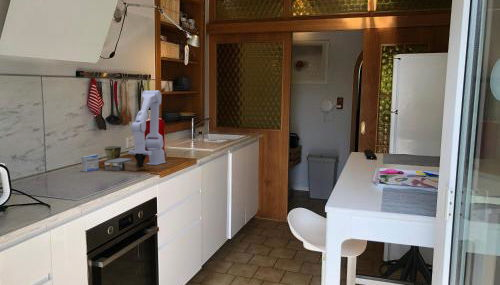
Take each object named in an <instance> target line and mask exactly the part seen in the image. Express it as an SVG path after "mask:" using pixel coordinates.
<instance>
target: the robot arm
mask: <svg viewBox="0 0 500 285" xmlns="http://www.w3.org/2000/svg"><path fill="white" fill-rule="evenodd" d="M141 97H142V105H141V109H140V110H139V111H138V112H137V114H136V117H135V120H134V121H133V122H132V123H131V126H130V129H131V132H132V136H133V144H134V146H133V147H134V150H133V149H131V150H128V155H133V157H134V159H135V161H136V162H137V163H138V165H139V167H140V168H141V167H142V168H144V163H145V160H146V158H147V156H148V162H147V163H145V164H146V165H153V166H158V165H161V164H164V163H166V162H167V161H166V159H165V156H166V154H165V151H164V149H163V148H164V143H165V142H164V139H163V138H164V137H163V135H162V134H160V133H159V128H160V127H159V124H160V121H159V120H160V118H159V117H160V105H162V92H161V91H160V90H158V89H157V90H146V89H145V90H143V91H142V93H141ZM149 109H150V117H149V118H150V121H149V133H147V135H146V136H145V132H146V130H147V123H146V122H147V120H148V116H149V114H148V111H149ZM146 149H147V150H146Z"/></svg>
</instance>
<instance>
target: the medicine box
mask: <svg viewBox="0 0 500 285" xmlns="http://www.w3.org/2000/svg"><path fill="white" fill-rule="evenodd" d="M80 158H81V159H80V160H81V168H82V172H84V173H89V172H94V171H99V168H100V167H99V155H98V154H90V155H84V156H83V155H82V156H81V157H80Z"/></svg>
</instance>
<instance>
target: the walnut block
mask: <svg viewBox="0 0 500 285" xmlns="http://www.w3.org/2000/svg"><path fill="white" fill-rule="evenodd" d="M124 166H125V169H124V171H133V172H134V171H135V172H136V171H137V172H138V171H141V170H142V168H143V167H141V168H140V167H139V165H138V163H137V161H133V162H131V161H130V162H126V163H124Z"/></svg>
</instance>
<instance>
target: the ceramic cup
mask: <svg viewBox="0 0 500 285" xmlns="http://www.w3.org/2000/svg"><path fill="white" fill-rule="evenodd" d="M103 149H104V154H105V156H106V161H109V160H113V159H117V158H121V150H122V146H121V145H109V146H104V148H103Z"/></svg>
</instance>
